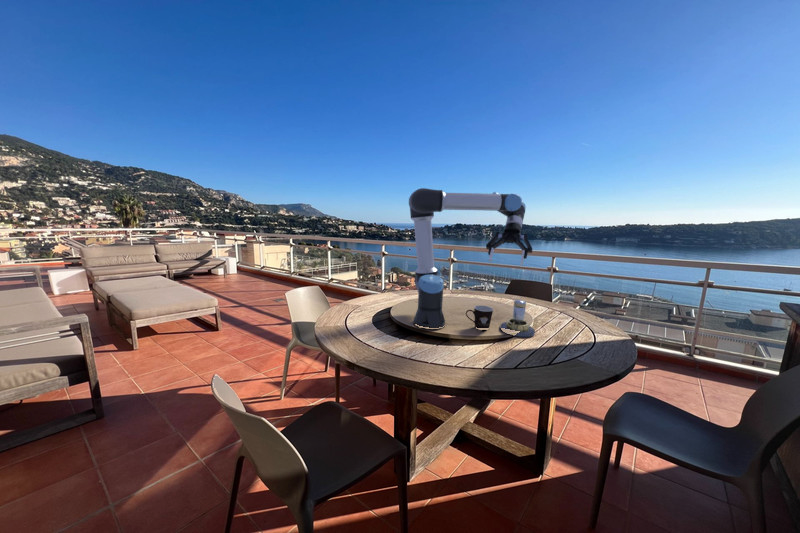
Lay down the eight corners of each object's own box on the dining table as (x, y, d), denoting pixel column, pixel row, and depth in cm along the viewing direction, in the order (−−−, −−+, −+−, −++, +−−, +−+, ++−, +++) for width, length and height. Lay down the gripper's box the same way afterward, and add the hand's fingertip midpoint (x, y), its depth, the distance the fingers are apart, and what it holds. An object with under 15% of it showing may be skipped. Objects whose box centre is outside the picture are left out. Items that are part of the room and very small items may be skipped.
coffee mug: (493, 327, 140) (495, 307, 138) (488, 333, 132) (490, 312, 131) (470, 322, 146) (471, 303, 144) (463, 327, 139) (465, 307, 137)
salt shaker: (508, 326, 138) (511, 300, 135) (517, 325, 140) (520, 299, 137) (517, 330, 133) (519, 303, 130) (525, 329, 135) (528, 302, 132)
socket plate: (493, 326, 140) (494, 318, 140) (517, 323, 146) (518, 314, 145) (516, 339, 127) (517, 330, 126) (541, 335, 132) (543, 325, 132)
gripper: (541, 234, 138) (535, 270, 128) (487, 230, 149) (478, 263, 139) (542, 222, 132) (536, 259, 122) (486, 220, 144) (476, 254, 134)
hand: (505, 261), depth 131 cm, fingers open, 13 cm apart
